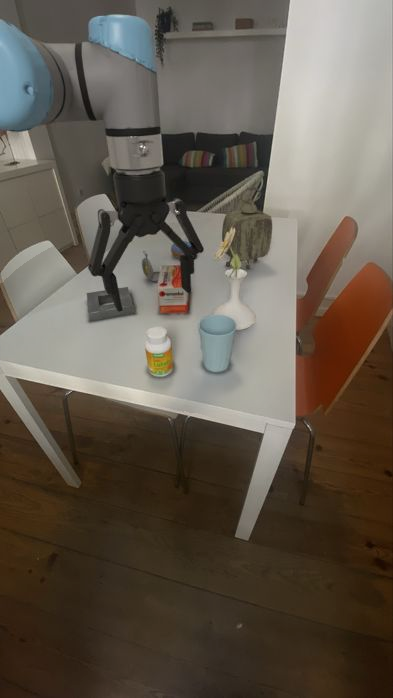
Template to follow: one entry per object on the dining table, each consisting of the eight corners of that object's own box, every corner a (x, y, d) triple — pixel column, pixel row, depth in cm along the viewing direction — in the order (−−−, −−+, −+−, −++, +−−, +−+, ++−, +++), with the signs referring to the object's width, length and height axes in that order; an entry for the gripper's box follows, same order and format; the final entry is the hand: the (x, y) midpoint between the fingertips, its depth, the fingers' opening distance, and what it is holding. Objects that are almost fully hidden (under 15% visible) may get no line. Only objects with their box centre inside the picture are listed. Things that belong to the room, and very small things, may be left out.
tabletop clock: (257, 258, 115) (265, 182, 100) (270, 268, 109) (281, 188, 93) (220, 265, 112) (223, 187, 96) (232, 275, 105) (236, 193, 90)
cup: (228, 350, 73) (230, 312, 67) (238, 372, 67) (241, 332, 61) (196, 355, 72) (195, 316, 66) (203, 378, 66) (202, 337, 60)
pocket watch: (172, 275, 106) (170, 246, 99) (159, 286, 100) (156, 255, 93) (151, 272, 108) (147, 242, 102) (137, 282, 102) (133, 252, 96)
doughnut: (202, 253, 120) (202, 241, 118) (188, 262, 114) (187, 250, 111) (181, 249, 125) (180, 237, 122) (166, 257, 118) (165, 245, 115)
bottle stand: (90, 321, 84) (88, 313, 83) (88, 300, 93) (86, 292, 92) (134, 313, 87) (133, 305, 86) (128, 294, 96) (127, 286, 94)
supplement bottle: (153, 380, 66) (148, 343, 60) (144, 365, 70) (139, 329, 64) (177, 372, 68) (174, 335, 62) (167, 358, 72) (163, 322, 66)
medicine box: (163, 288, 98) (160, 264, 94) (189, 288, 98) (188, 263, 93) (159, 314, 87) (156, 287, 82) (188, 313, 86) (187, 287, 82)
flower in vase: (221, 307, 89) (225, 213, 73) (261, 316, 85) (273, 219, 69) (200, 331, 80) (199, 230, 64) (243, 343, 76) (252, 238, 60)
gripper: (52, 184, 39) (91, 326, 52) (224, 164, 48) (221, 290, 61) (44, 175, 44) (82, 306, 58) (201, 158, 53) (202, 276, 66)
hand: (153, 298), depth 59 cm, fingers open, 13 cm apart
